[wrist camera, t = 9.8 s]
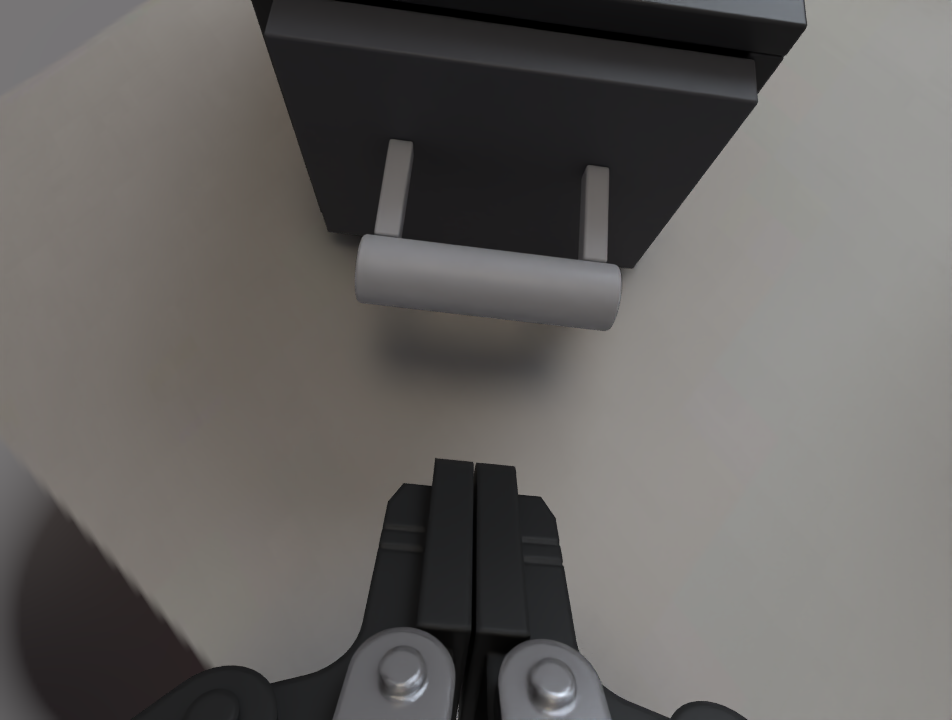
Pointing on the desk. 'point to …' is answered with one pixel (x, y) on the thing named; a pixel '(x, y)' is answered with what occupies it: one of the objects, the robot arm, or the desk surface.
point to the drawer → (498, 150)
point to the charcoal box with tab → (652, 23)
